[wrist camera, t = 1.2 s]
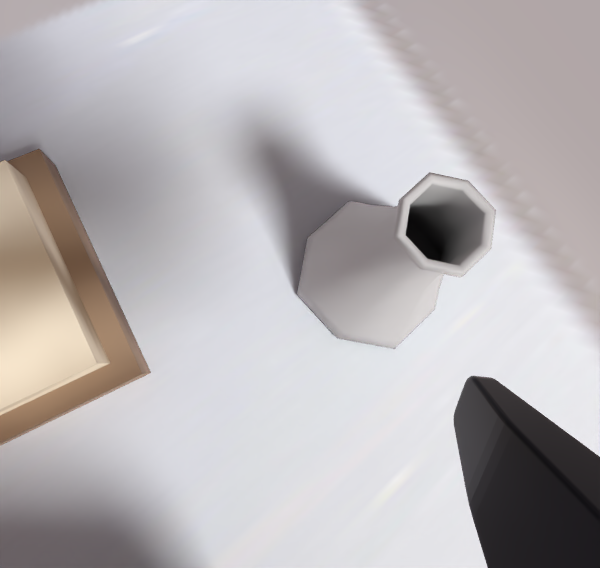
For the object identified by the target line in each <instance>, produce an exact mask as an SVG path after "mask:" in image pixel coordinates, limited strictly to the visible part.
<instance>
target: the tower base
mask: <svg viewBox="0 0 600 568" xmlns="http://www.w3.org/2000/svg"><path fill="white" fill-rule="evenodd" d="M149 373H151V372H150V370H149V368H148V366H147V363H146V361H145V359H144V357H143V355H142V353H141V350H140V348H139V346H138V344H137V342H136V339H135V337H134V335H133V333H132V331H131V329H130V326H129V324H128V322H127V320H126V318H125V316H124V313H123V311H122V309H121V307H120V305H119V303H118V300H117V298H116V296H115V294H114V292H113V289H112V287H111V285H110V283H109V281H108V279H107V276H106V274H105V272H104V270H103V268H102V266H101V263H100V261H99V259H98V257H97V255H96V253H95V250H94V248H93V246H92V244H91V242H90V239H89V237H88V235H87V233H86V231H85V229H84V226H83V224H82V222H81V220H80V218H79V216H78V213H77V211H76V209H75V207H74V205H73V203H72V200H71V198H70V196H69V194H68V192H67V189H66V187H65V185H64V183H63V181H62V179H61V176H60V174H59V172H58V170H57V168H56V166H55V165H54V164H53V162H52V161H51V160H50V159H49V158H48V157H47V156H46V155H45V154H44V153H43V152H42V151H41V150H40V149H37V150H35V151H32V152H30V153H27V154H25V155H22V156H20V157H17V158H15V159H12V160H10V161H6V160H4V161H1V162H0V445H3V444H5V443H7V442H9V441H11V440H13V439H15V438H17V437H19V436H21V435H23V434H25V433H27V432H29V431H31V430H34V429H36V428H38V427H40V426H42V425H44V424H46V423H48V422H50V421H52V420H54V419H56V418H58V417H60V416H62V415H65V414H67V413H69V412H71V411H73V410H75V409H77V408H79V407H81V406H83V405H85V404H87V403H89V402H91V401H93V400H96V399H98V398H100V397H102V396H104V395H106V394H108V393H110V392H112V391H114V390H116V389H118V388H120V387H122V386H124V385H126V384H129V383H131V382H133V381H135V380H137V379H139V378H141V377H143V376H145V375H147V374H149Z"/></svg>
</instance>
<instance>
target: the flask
mask: <svg viewBox="0 0 600 568" xmlns="http://www.w3.org/2000/svg"><path fill="white" fill-rule="evenodd" d="M495 214H496V210H495V209H494V208H493V206H492V205H491V204H490V203H489V202H488V201H487V200H486V199H485V198H484V197H483V196H482V195H481V194H480V193H479V192H478V191H477V189H476V188H475V187H474V186H473V185H472V184H471V183H470V182H469V181H467V180H462V179H458V178H453V177H449V176H444V175H439V174H435V173H428V174H427V175H426V176H425V177H424V178H423V179H422V180H421V181H419V182H418V183H417V184H416V185H415V186H414V187H413V188H412V189H411V190H410V191H408V192H407V193H406V194H405V195H404V196H403V197H402V198H401V199H400V200H399V203H398V206H395V207H392V206H379V205H370V204H364V203H359V202H353V201H348V202H347V203H346V204H345V205H344V206H343V207H342V208H341V209H339V210H338V211H337V212H336V213H335V214H334V215H333V216H332V217H330V218H329V219H328V220H327V221H326V222H325V223H324V224H323V225H321V226H320V227H319V228H318V229H317V230H316V231H315V232H314V233H312V234H311V235H310V236H309V237H308V238H307V243H306V248H305V254H304V259H303V265H302V270H301V276H300V281H299V287H298V292H297V295H298V296H299V297H300V298H301V299H302V300H303V302H304V303H305V304H306V305H307V306H308V307H309V308H310V309H311V310H312V311H313V312H314V314H315V315H316V316H317V317H318V318H319V319H320V320H321V321H322V322H323V323H324V324H325V326H326V327H327V328H328V329H329V330H330V331H331V332H332V333H333V334H334V335H335V336H336V337H337V338H339V339H344V340H349V341H354V342H360V343H365V344H370V345H376V346H381V347H386V348H392V349H395V348H396V347H397V346H398V345H399V344H400V343H401V342H402V341H403V340H404V339H405V338H406V337H407V336H408V335H409V334H410V333H411V332H412V331H413V330H414V329H415V328H416V327H417V326H418V325H419V324H420V323H421V322H423V321H424V320H425V319H426V318H427V317H428V316H429V315H430V314H431V313H432V312H433V311H434V310H435V307H436V303H437V297H438V292H439V288H440V285H441V281H442V278H443V275H444V274H446V275H451V276H456V277H462V276H464V275H465V274H466V273H467V272H468V271H469V270H470V269H471V268H472V267H473V266H474V265H475V264H476V263H477V262H478V261H479V260H480V259H481V258H482V257H483V256H484V255H485V254H486V253H487V252H488V251H489V250H490V249H491V246H492V238H493V230H494V222H495Z"/></svg>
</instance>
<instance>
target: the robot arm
mask: <svg viewBox="0 0 600 568" xmlns="http://www.w3.org/2000/svg"><path fill="white" fill-rule="evenodd" d="M454 428H455V433H456V438H457V444H458V449H459V455H460V460H461V465H462V471H463V476H464V482H465V487H466V492H467V497H468V501H469V506H470V509H471V513H472V517H473V520H474V524H475V527H476V530H477V533H478V537H479V540H480V543H481V547H482V550H483V553H484V557H485V560H486V563H487V566H488V568H600V457H599V456H598V455H596V454H595V453H594V452H592V451H591V450H590V449H588V448H587V447H586V446H584V445H583V444H582V443H580V442H579V441H578V440H576V439H575V438H574V437H572V436H571V435H569V434H568V433H567V432H565V431H564V430H563V429H561V428H560V427H559V426H557V425H556V424H555V423H553V422H552V421H551V420H549V419H548V418H547V417H545V416H544V415H542V414H541V413H540V412H538V411H537V410H536V409H534V408H533V407H532V406H530V405H529V404H528V403H526V402H525V401H524V400H522V399H521V398H520V397H518V396H517V395H515V394H514V393H513V392H511V391H510V390H509V389H507V388H506V387H505V386H503V385H502V384H501V383H499V382H498V381H497V380H495V379H493V378H489V377H479V376H471V377H469V378H468V379H467V381H466V382H465V385H464V388H463V390H462V393H461V396H460V398H459V401H458V404H457V407H456V409H455V413H454Z"/></svg>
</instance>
